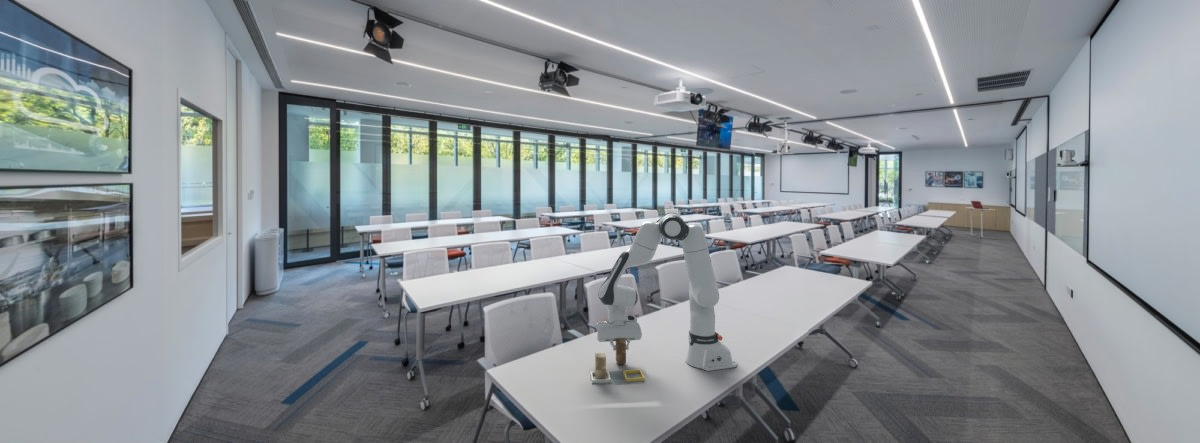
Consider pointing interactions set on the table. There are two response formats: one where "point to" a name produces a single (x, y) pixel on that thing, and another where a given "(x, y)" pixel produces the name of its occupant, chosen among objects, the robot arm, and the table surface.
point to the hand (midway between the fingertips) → (621, 349)
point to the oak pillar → (600, 365)
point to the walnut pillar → (621, 351)
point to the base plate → (619, 378)
